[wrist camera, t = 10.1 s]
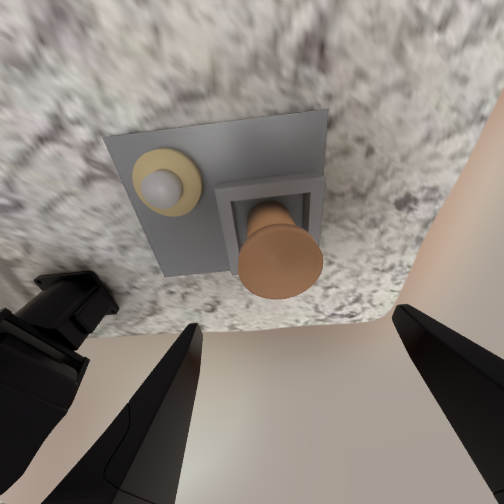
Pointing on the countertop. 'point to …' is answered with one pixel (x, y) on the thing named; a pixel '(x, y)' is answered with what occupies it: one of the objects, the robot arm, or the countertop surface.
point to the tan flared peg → (277, 254)
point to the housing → (220, 184)
